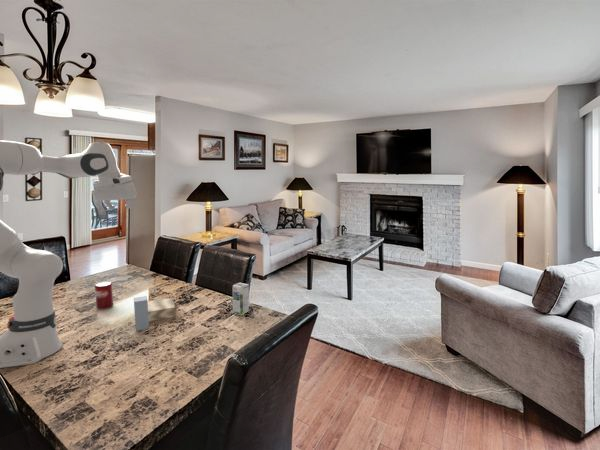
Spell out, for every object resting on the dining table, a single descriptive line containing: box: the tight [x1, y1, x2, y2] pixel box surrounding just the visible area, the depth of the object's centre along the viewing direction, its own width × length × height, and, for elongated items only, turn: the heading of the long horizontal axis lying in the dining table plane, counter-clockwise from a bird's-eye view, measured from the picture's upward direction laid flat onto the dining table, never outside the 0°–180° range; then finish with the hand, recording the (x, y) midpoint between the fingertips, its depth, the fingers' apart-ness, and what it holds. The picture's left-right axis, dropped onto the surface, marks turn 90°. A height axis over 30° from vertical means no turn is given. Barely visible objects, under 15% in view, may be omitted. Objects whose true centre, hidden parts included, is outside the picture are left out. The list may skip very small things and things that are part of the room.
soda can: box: [94, 281, 114, 310], centre depth 160 cm, size 7×7×12 cm
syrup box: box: [232, 282, 250, 316], centre depth 156 cm, size 6×6×14 cm
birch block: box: [147, 297, 176, 322], centre depth 154 cm, size 13×13×5 cm
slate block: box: [133, 295, 150, 332], centre depth 139 cm, size 5×5×13 cm
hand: (120, 208), depth 148 cm, fingers open, 8 cm apart
